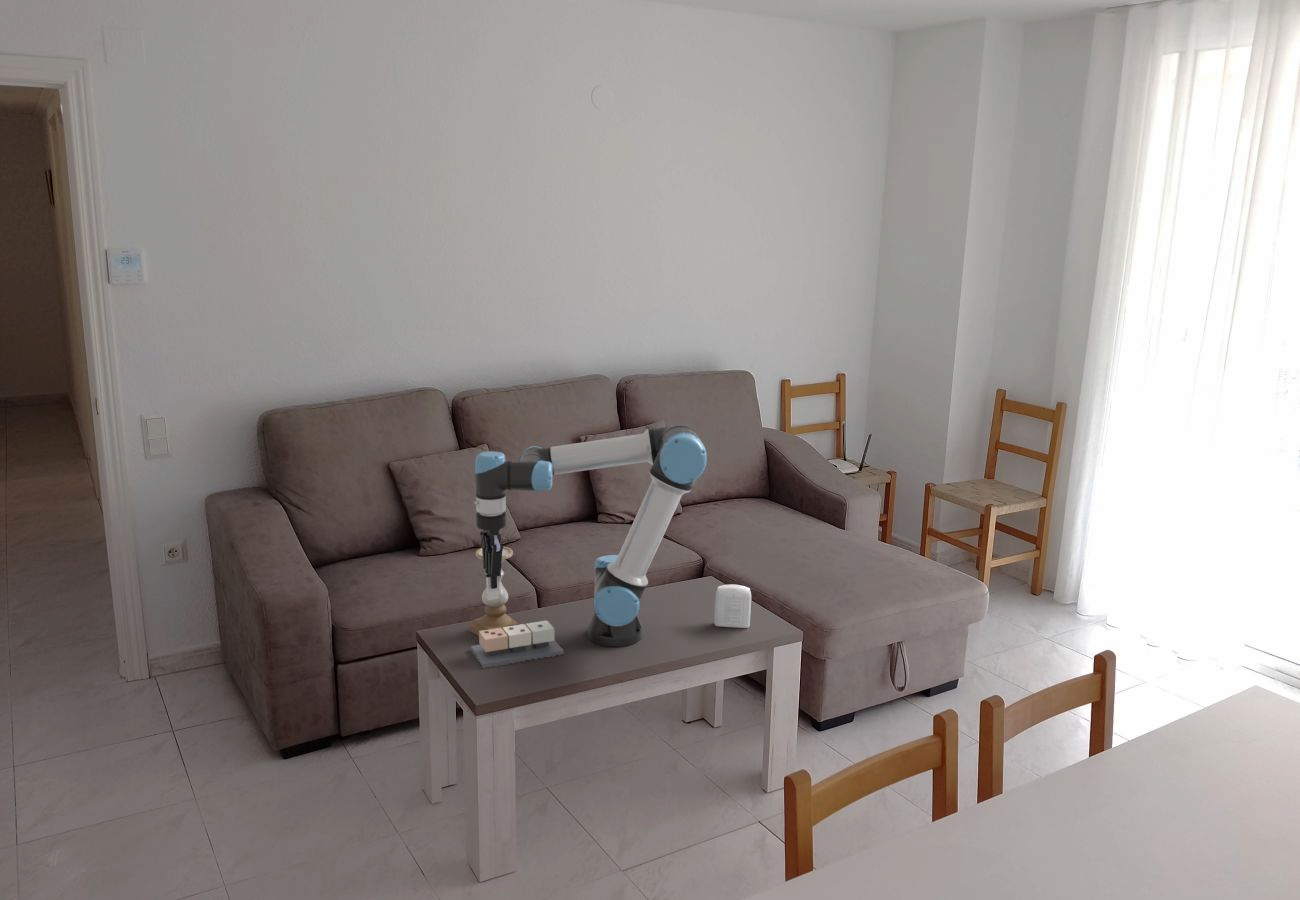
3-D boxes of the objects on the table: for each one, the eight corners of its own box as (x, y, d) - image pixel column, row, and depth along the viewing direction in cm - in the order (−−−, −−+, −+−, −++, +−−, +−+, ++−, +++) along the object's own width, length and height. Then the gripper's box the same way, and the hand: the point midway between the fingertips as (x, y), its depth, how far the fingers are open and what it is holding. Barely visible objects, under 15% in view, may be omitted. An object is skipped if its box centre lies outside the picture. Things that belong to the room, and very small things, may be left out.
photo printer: (749, 623, 296) (751, 583, 293) (750, 629, 292) (752, 588, 289) (714, 621, 296) (715, 581, 293) (714, 627, 292) (715, 587, 289)
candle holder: (468, 630, 287) (467, 549, 282) (503, 621, 294) (501, 542, 288) (488, 643, 279) (486, 560, 273) (522, 634, 285) (521, 553, 280)
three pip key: (501, 639, 274) (500, 626, 273) (507, 648, 269) (507, 635, 268) (479, 643, 272) (479, 630, 271) (485, 652, 266) (485, 638, 265)
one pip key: (547, 632, 279) (547, 619, 279) (554, 640, 274) (554, 627, 273) (526, 635, 277) (525, 622, 276) (533, 644, 272) (532, 631, 271)
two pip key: (524, 636, 277) (524, 623, 276) (531, 644, 271) (531, 631, 271) (502, 639, 274) (502, 626, 273) (509, 648, 269) (509, 635, 268)
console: (548, 637, 283) (548, 624, 282) (563, 654, 273) (563, 641, 272) (471, 650, 274) (470, 637, 273) (483, 668, 264) (483, 654, 263)
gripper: (469, 506, 266) (471, 591, 271) (483, 520, 254) (485, 609, 260) (497, 503, 269) (499, 587, 274) (512, 517, 257) (514, 605, 263)
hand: (492, 598), depth 267 cm, fingers closed
